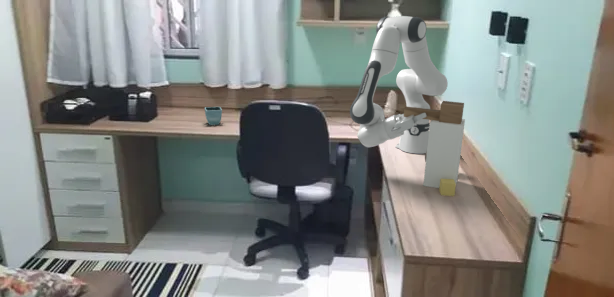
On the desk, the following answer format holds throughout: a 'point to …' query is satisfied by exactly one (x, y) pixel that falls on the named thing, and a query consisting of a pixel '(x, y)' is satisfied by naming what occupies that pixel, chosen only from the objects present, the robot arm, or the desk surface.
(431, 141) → the white block
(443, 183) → the mustard block
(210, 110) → the flower pot
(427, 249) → the desk surface
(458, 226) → the desk surface
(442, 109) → the brown block
